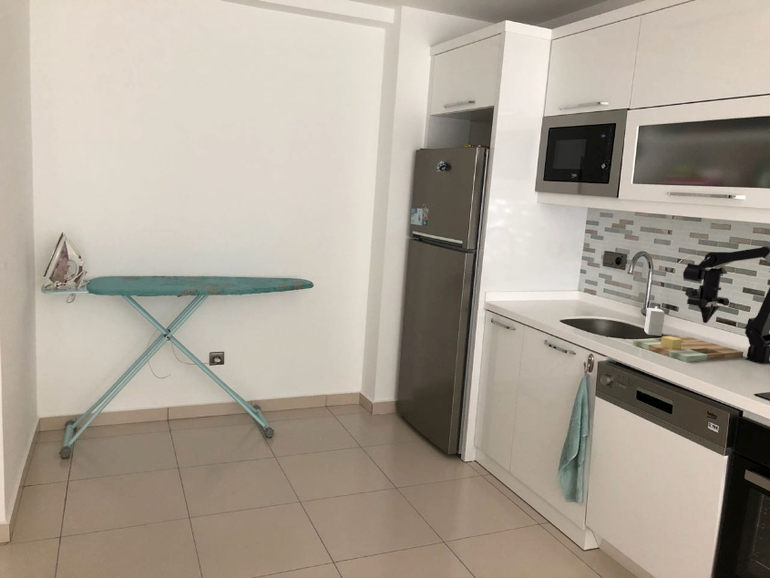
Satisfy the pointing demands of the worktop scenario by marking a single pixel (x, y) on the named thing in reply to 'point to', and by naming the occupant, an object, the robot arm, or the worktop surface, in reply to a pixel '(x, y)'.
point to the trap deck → (690, 349)
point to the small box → (654, 321)
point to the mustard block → (671, 342)
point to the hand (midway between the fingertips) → (705, 322)
